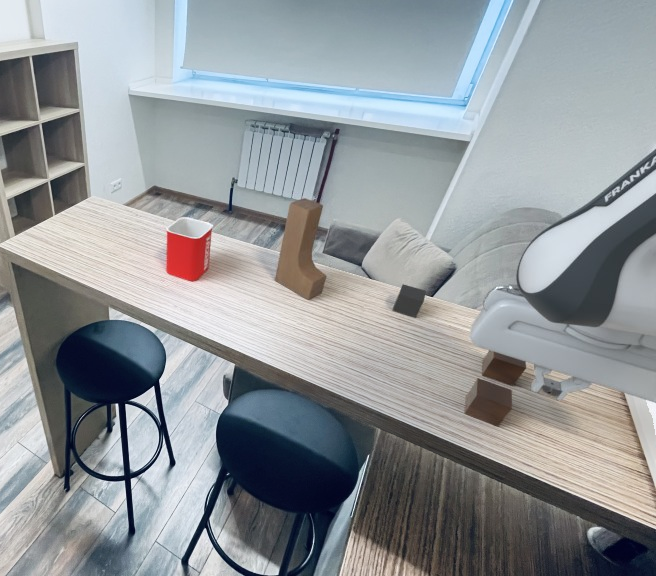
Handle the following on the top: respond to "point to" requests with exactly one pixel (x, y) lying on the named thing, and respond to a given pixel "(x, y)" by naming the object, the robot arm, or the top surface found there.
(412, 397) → the top surface
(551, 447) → the top surface
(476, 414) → the near cube
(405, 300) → the cube
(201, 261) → the mug
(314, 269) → the wooden block
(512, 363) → the middle cube
